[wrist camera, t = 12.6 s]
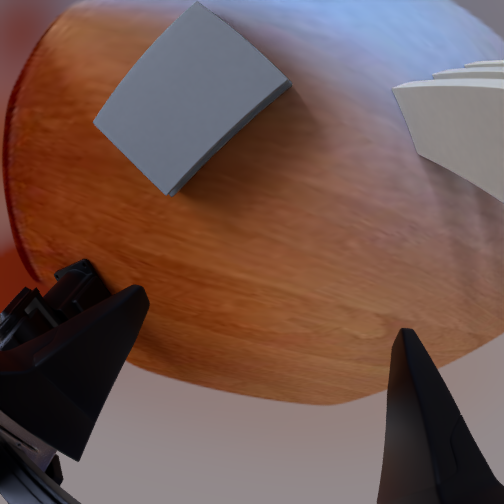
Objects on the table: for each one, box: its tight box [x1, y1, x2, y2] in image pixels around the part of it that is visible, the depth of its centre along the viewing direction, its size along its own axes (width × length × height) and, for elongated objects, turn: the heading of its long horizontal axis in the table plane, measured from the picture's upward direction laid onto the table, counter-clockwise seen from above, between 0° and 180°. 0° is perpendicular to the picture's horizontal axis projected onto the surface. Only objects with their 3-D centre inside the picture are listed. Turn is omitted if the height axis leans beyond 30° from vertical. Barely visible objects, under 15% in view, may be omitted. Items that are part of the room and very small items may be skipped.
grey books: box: [93, 2, 292, 197], centre depth 15 cm, size 11×8×3 cm
